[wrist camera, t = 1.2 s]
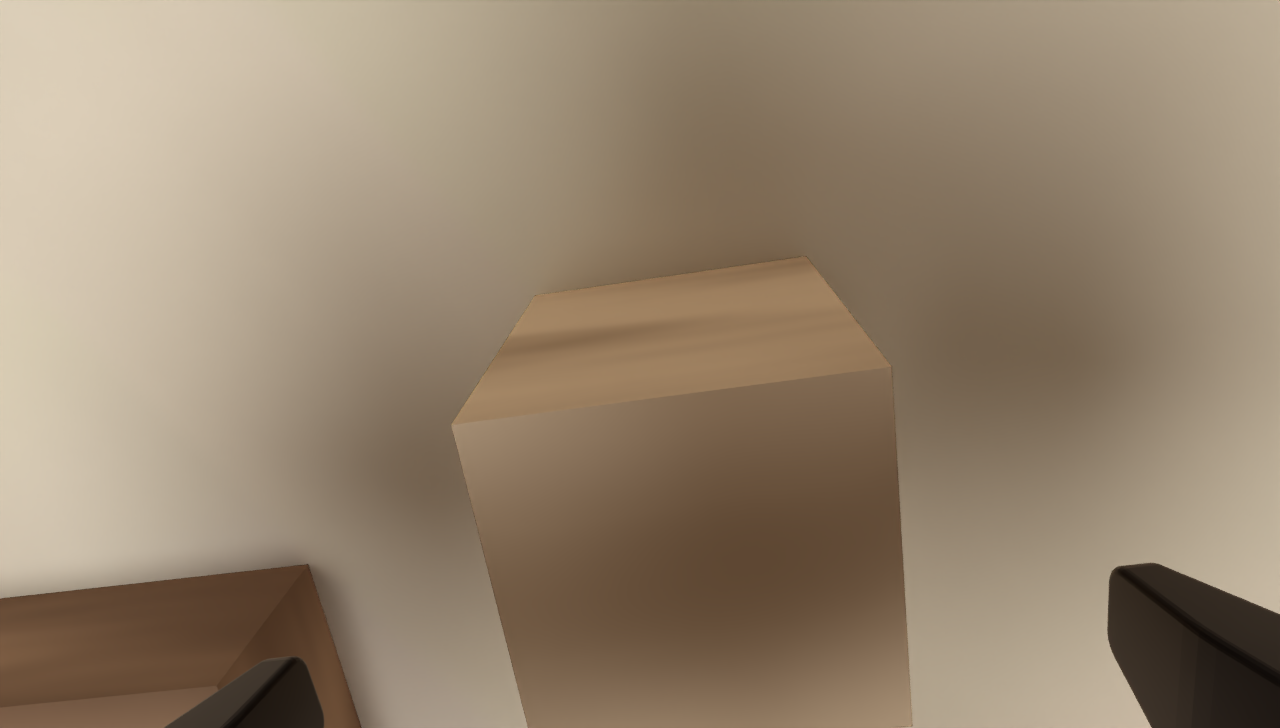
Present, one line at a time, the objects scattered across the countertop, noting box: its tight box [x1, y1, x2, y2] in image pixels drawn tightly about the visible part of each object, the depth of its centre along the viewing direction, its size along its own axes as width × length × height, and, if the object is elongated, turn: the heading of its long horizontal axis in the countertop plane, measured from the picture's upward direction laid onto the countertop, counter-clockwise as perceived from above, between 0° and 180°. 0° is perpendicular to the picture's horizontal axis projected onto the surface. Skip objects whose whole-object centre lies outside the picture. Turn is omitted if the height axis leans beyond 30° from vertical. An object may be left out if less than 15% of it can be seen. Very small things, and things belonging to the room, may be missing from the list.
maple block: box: [451, 256, 912, 728], centre depth 13 cm, size 5×5×6 cm
